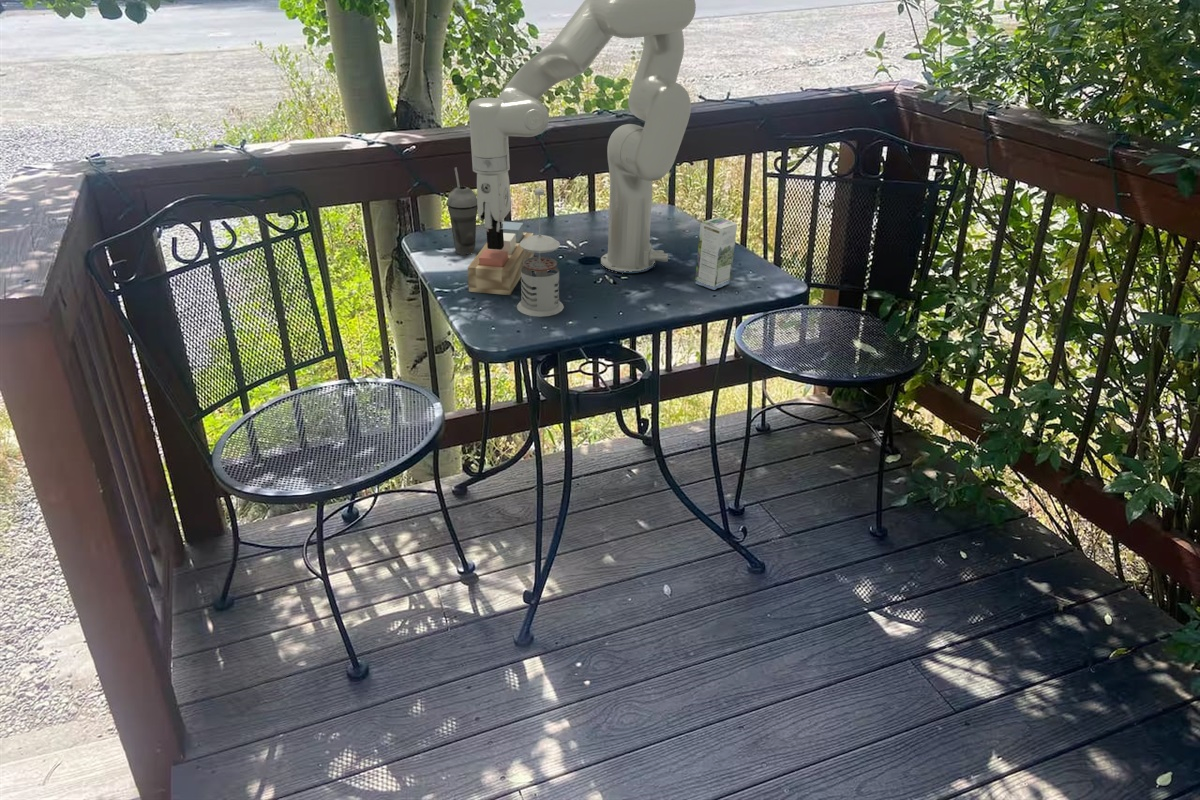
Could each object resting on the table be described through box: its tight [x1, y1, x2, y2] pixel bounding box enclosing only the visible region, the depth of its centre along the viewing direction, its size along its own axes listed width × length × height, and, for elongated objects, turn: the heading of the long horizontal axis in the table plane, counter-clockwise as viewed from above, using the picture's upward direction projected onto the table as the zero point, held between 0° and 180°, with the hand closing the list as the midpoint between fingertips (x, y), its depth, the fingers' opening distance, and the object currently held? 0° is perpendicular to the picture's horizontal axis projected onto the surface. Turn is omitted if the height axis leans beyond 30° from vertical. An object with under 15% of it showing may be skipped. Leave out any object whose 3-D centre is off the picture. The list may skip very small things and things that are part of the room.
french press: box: [516, 187, 565, 317], centre depth 179 cm, size 10×12×25 cm
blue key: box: [502, 220, 524, 243], centre depth 203 cm, size 5×5×4 cm
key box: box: [467, 231, 535, 296], centre depth 198 cm, size 9×24×6 cm, turn 171°
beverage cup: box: [446, 167, 478, 256], centre depth 205 cm, size 7×7×20 cm
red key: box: [479, 250, 508, 267], centre depth 191 cm, size 5×5×4 cm
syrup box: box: [694, 216, 738, 287], centre depth 193 cm, size 6×6×14 cm
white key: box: [488, 233, 516, 255], centre depth 196 cm, size 5×5×4 cm
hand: (495, 247), depth 189 cm, fingers closed
